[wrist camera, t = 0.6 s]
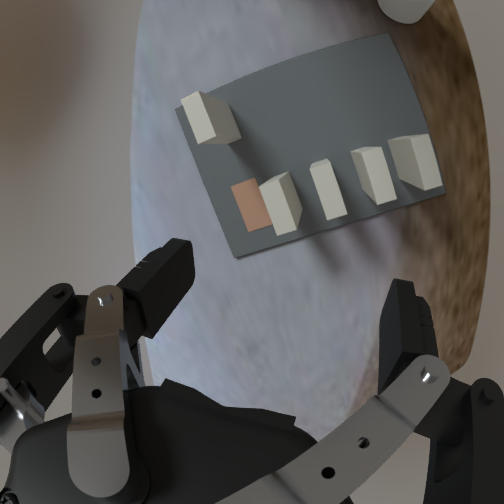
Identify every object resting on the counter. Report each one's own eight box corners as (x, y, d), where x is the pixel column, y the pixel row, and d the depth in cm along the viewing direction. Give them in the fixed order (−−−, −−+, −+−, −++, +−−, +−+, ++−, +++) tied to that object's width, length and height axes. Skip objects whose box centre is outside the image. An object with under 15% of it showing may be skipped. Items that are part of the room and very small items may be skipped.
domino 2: (273, 176, 37) (258, 186, 28) (288, 171, 37) (278, 179, 27) (287, 213, 39) (277, 235, 29) (302, 208, 38) (296, 229, 29)
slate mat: (176, 109, 37) (174, 109, 37) (387, 33, 28) (388, 32, 27) (235, 256, 43) (233, 258, 42) (444, 192, 33) (446, 193, 33)
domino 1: (213, 109, 36) (180, 99, 27) (227, 103, 35) (198, 90, 26) (227, 143, 37) (198, 144, 28) (241, 138, 36) (216, 135, 27)
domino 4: (350, 151, 34) (361, 152, 25) (365, 146, 34) (381, 146, 24) (362, 189, 35) (377, 204, 26) (377, 185, 35) (396, 198, 26)
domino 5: (387, 140, 33) (410, 138, 23) (401, 136, 32) (428, 133, 23) (399, 178, 34) (424, 190, 25) (413, 174, 33) (442, 185, 24)
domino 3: (311, 163, 36) (309, 169, 27) (327, 158, 35) (330, 162, 26) (325, 201, 37) (327, 220, 28) (340, 196, 36) (347, 214, 27)
